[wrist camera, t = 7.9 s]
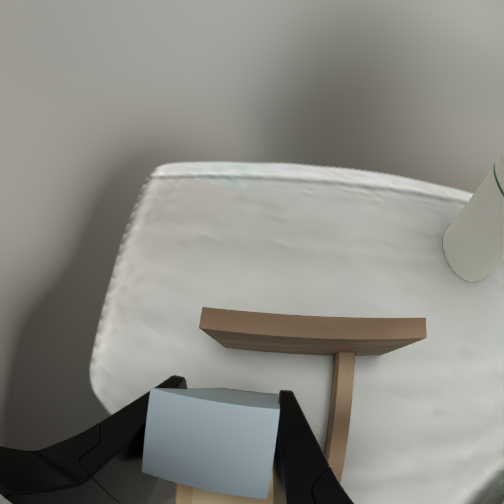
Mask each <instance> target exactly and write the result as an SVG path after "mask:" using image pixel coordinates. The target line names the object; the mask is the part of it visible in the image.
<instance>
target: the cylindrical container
mask: <svg viewBox="0 0 504 504" xmlns="http://www.w3.org/2000/svg"><path fill="white" fill-rule="evenodd" d="M443 251H444V254H445V257H446V260H447V262H448V264H449V265H450V267H451V268H452V270H453V271H454V272H455V273H456V274H457V275H458V276H459V277H460V278H462V279H463V280H466V281H468V282H478V281H480V280H482V279H483V278H484V277H486V276H487V275H488V274H490V273H491V272H492V271H494V270H495V269H496V268H498V267H499V266H500V265H501V264H503V263H504V150H503V152H502V153H501V155H500V157H499V158H498V160H497V161H496V163H495V164H494V166H493V168H492V169H491V171H490V172H489V174H488V175H487V176H486V178H485V180H484V181H483V182H482V184H481V185H480V187H479V188H478V189H477V191H476V192H475V194H474V195H473V196H472V198H471V199H470V200H469V202H468V203H467V204H466V206H465V207H464V208H463V209H462V211H461V212H460V213H459V215H458V216H457V217H456V218H455V220H454V221H453V222H452V223H451V224H450V226H449V227H448V228H447V229H446V231H445V233H444V236H443Z"/></svg>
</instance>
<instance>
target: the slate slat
mask: <svg viewBox="0 0 504 504" xmlns="http://www.w3.org/2000/svg"><path fill="white" fill-rule="evenodd" d="M278 400H279V397H278V394H270V393H259V392H250V391H241V390H234V389H226V388H204V389H169V388H151V389H150V397H149V404H148V412H147V420H146V429H145V439H144V450H143V462H142V472H144V473H146V474H149V475H152V476H155V477H158V478H162V479H165V480H168V481H172V482H175V483H179V484H182V485H186V486H190V487H194V488H199V489H203V490H208V491H213V492H218V493H223V494H229V495H236V496H243V497H251V498H261V499H267V497H268V491H269V485H270V479H271V473H272V466H273V459H274V452H275V445H276V437H277V430H278V422H279V414H280V405H279V403H278Z"/></svg>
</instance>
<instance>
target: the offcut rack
mask: <svg viewBox="0 0 504 504" xmlns="http://www.w3.org/2000/svg"><path fill="white" fill-rule="evenodd" d="M199 328H200V329H201V330H203V331H204V332H205V333H207V334H208V335H209V336H211V337H212V338H213V339H215V340H216V341H217V342H219V343H220V344H221V345H223V346H224V347H227V348H235V349H244V350H254V351H265V352H278V353H292V354H312V355H334V368H333V382H332V394H331V404H330V414H329V422H328V431H327V438H326V445H325V452H324V455H325V457H326V459H327V461H328V463H329V467H331V469H332V470H333V472H334V474H335V476H336V478H337V480H338V481H339V483H340V481H341V475H342V470H343V464H344V458H345V452H346V445H347V438H348V431H349V422H350V414H351V404H352V392H353V379H354V361H355V355H382V354H385V353H388V352H391V351H393V350H396V349H399V348H402V347H404V346H407V345H409V344H412V343H415V342H417V341H420V340H422V339H424V338H426V318H347V317H320V316H301V315H285V314H271V313H258V312H246V311H235V310H225V309H216V308H206V307H203V308H202V313H201V319H200V325H199ZM174 504H273V466H272V473H271V479H270V485H269V491H268V497H267V499H261V498H251V497H243V496H236V495H229V494H223V493H218V492H213V491H208V490H203V489H199V488H194V487H190V486H186V485H182V484H179V483H176V488H175V502H174Z"/></svg>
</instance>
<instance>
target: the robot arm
mask: <svg viewBox="0 0 504 504" xmlns="http://www.w3.org/2000/svg"><path fill="white" fill-rule="evenodd" d="M155 388H169V389H187V385H186V380H185V378H184V377H180V376H175V375H174V376H171V377H170V378H168V379H167V380H165V381H164V382H163V383H161V384H160V385H158V386H157V387H155ZM149 397H150V391H149V392H147V393H146V394H144V395H143V396H141V397H140V398H138V399H137V400H135V401H134V402H132V403H130V404H129V405H127V406H126V407H124V408H122V409H121V410H119V411H118V412H116V413H114V414H113V415H111V416H110V417H108V418H106V419H105V420H103V421H101V423H98V424H96V425H95V426H93V427H91V428H90V429H87V430H86V431H84V432H82V433H80V434H78V435H76V436H73V437H71V438H69V439H67V440H64V441H62V442H59V443H57V444H54V445H52V446H49V447H47V448H44V449H41V450H35V451H25V450H19V449H13V448H7V447H2V446H0V504H147V503H148V500H149V498H150V496H151V494H152V491H153V489H154V487H155V484H156V482H157V480H158V477H155V476H152V475H149V474H146V473H144V472H142V462H143V450H144V439H145V429H146V420H147V412H148V404H149ZM278 403H279V405H280V414H279V422H278V430H277V437H276V445H275V452H274V459H273V504H354V503H353V502H352V500H351V499H350V498H349V496H348V495H347V494H346V492H345V491H344V489H343V488H342V486H341V485H340V483H339V481H338V480H337V478H336V476H335V474H334V472H333V470H332V469H331V467H329V463H328V461H327V459H326V457H325V455H324V453H323V451H322V449H321V447H320V445H319V444H318V442H317V440H316V438H315V436H314V434H313V432H312V430H311V428H310V426H309V424H308V422H307V420H306V418H305V416H304V414H303V412H302V410H301V408H300V406H299V404H298V402H297V400H296V397H295V395H294V393H293V392H292V391H287V390H281V391H280V392H279V400H278Z"/></svg>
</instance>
